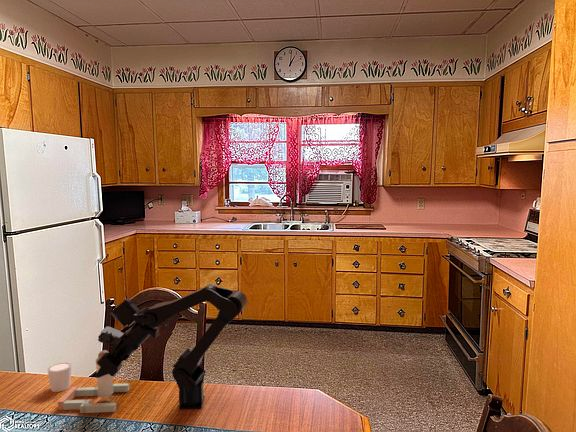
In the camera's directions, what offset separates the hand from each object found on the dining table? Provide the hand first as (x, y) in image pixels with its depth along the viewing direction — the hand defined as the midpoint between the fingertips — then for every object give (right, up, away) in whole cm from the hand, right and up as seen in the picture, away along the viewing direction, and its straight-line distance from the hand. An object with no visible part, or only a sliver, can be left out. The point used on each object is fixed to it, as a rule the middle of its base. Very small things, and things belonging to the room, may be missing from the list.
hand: (99, 372), depth 124 cm
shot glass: (-17, -8, +9) cm, 21 cm away
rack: (-2, -9, +1) cm, 9 cm away
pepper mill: (+1, -7, +1) cm, 7 cm away
